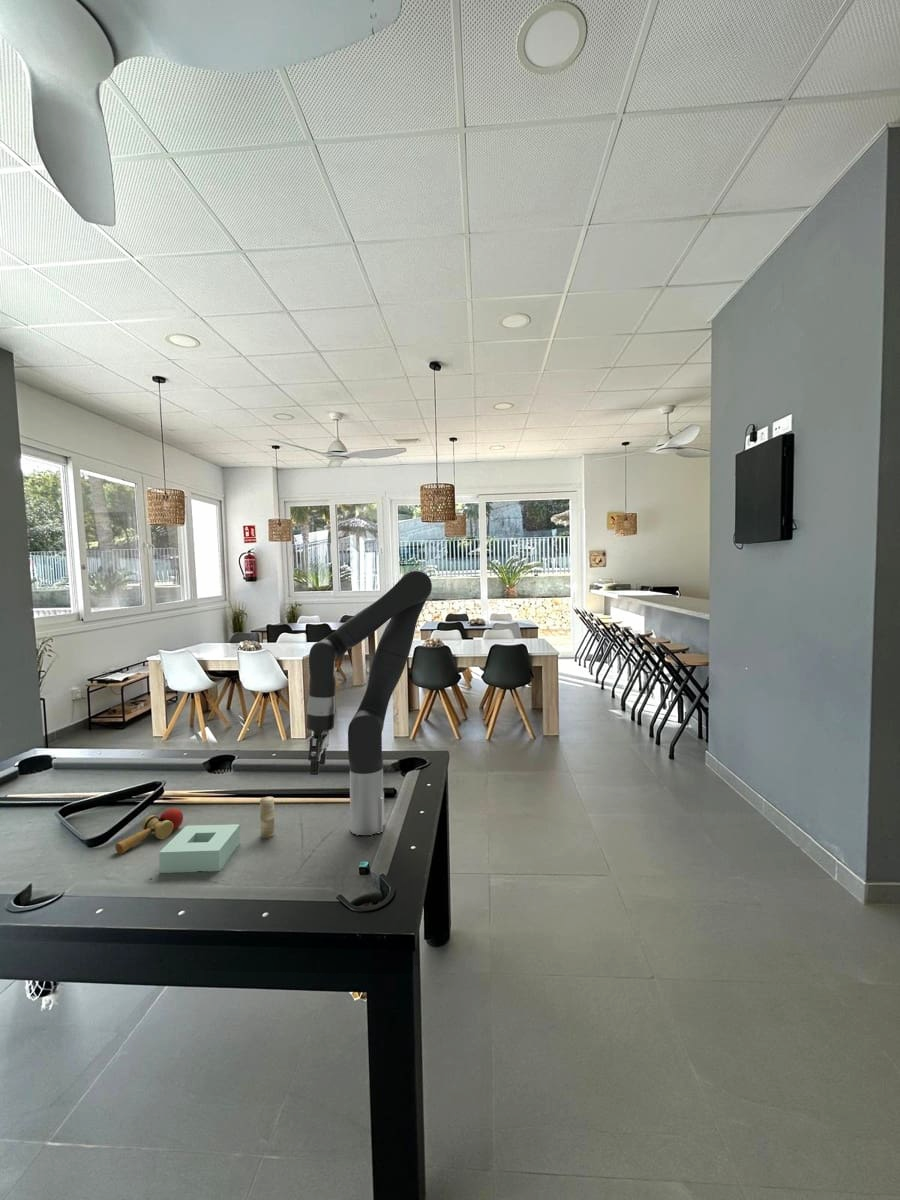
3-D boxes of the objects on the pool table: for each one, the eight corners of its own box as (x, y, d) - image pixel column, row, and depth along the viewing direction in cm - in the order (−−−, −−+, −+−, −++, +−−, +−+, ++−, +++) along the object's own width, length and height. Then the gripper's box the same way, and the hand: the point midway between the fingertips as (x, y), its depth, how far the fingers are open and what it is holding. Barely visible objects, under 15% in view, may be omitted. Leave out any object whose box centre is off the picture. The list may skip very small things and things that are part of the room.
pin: (275, 832, 144) (275, 796, 144) (272, 838, 141) (271, 801, 141) (262, 832, 144) (262, 796, 144) (258, 838, 141) (258, 802, 140)
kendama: (132, 862, 131) (192, 823, 148) (125, 839, 131) (186, 802, 147) (113, 861, 135) (174, 823, 151) (107, 838, 134) (168, 803, 150)
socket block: (240, 842, 138) (239, 824, 138) (219, 871, 124) (219, 850, 124) (186, 844, 137) (186, 825, 137) (159, 873, 123) (159, 852, 123)
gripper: (329, 718, 138) (326, 778, 138) (339, 706, 152) (336, 761, 152) (301, 716, 137) (297, 777, 137) (313, 705, 152) (310, 760, 152)
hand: (317, 769), depth 145 cm, fingers open, 8 cm apart
